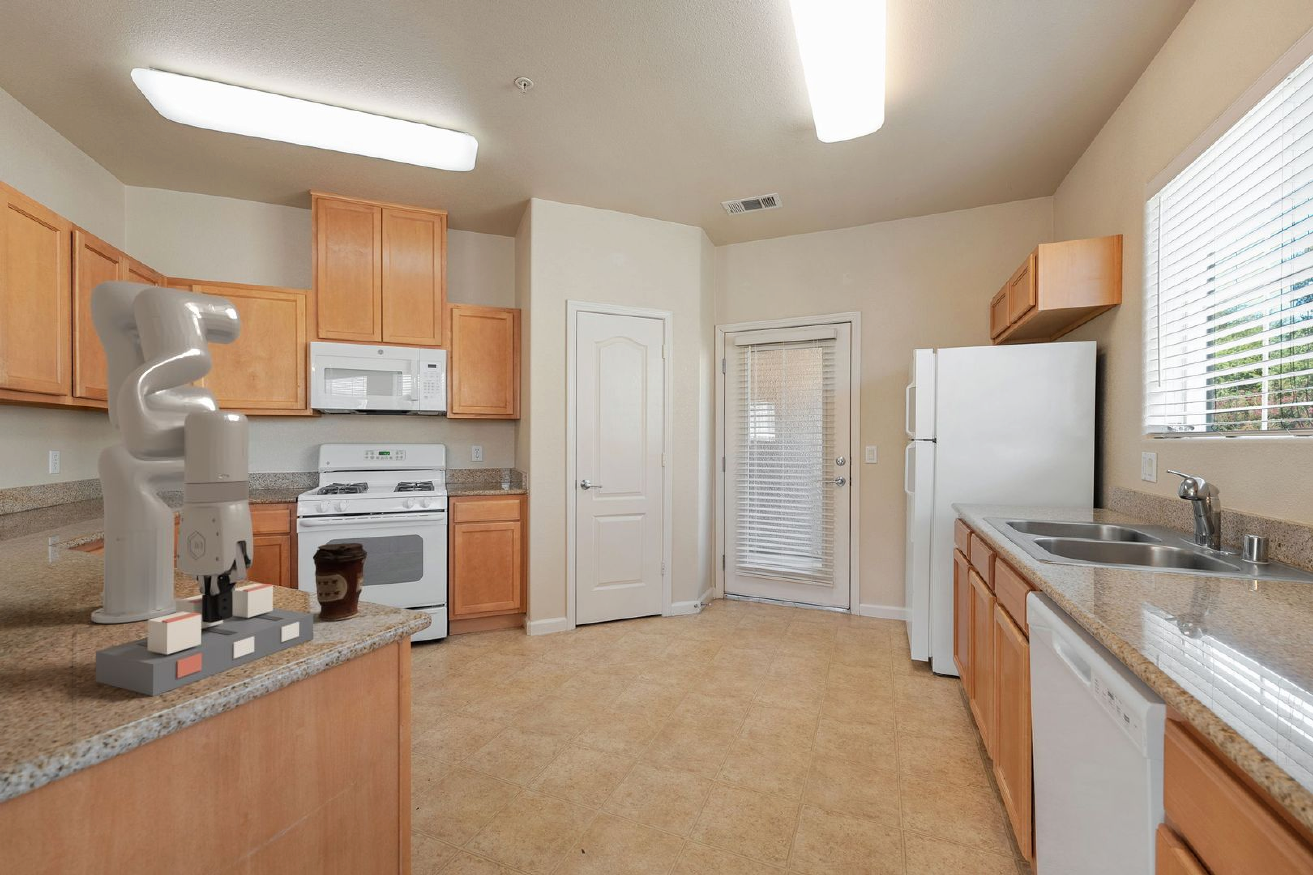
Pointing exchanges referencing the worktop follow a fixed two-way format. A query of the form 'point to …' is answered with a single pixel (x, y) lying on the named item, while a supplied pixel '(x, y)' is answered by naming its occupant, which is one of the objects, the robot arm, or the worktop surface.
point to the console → (202, 652)
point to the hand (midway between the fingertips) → (217, 619)
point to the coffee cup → (339, 579)
